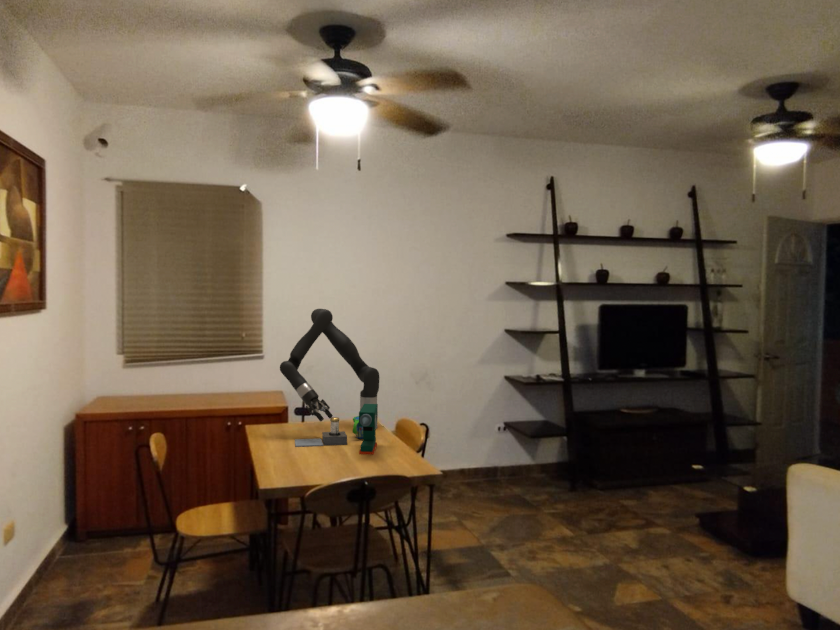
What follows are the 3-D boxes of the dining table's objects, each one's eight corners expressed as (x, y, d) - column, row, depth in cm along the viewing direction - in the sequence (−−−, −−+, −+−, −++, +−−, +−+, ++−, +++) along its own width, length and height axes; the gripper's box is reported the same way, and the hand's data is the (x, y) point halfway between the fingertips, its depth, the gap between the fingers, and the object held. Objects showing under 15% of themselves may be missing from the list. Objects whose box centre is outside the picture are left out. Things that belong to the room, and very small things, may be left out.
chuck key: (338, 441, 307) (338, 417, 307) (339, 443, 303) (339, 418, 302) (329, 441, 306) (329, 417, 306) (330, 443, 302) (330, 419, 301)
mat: (321, 439, 309) (321, 438, 309) (323, 446, 297) (323, 444, 297) (294, 440, 306) (294, 439, 306) (295, 446, 294) (295, 445, 294)
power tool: (371, 462, 270) (372, 417, 269) (355, 462, 270) (356, 416, 269) (377, 444, 302) (378, 403, 301) (363, 444, 302) (364, 403, 301)
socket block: (344, 439, 311) (344, 431, 311) (347, 444, 300) (347, 436, 300) (322, 440, 309) (322, 432, 308) (324, 445, 298) (324, 437, 298)
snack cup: (360, 442, 306) (361, 421, 306) (344, 438, 312) (345, 418, 312) (380, 436, 319) (381, 416, 319) (365, 433, 325) (365, 414, 325)
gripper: (304, 390, 302) (324, 416, 298) (319, 387, 315) (338, 411, 311) (294, 400, 304) (314, 426, 300) (310, 396, 317) (329, 421, 313)
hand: (326, 418), depth 306 cm, fingers open, 8 cm apart
